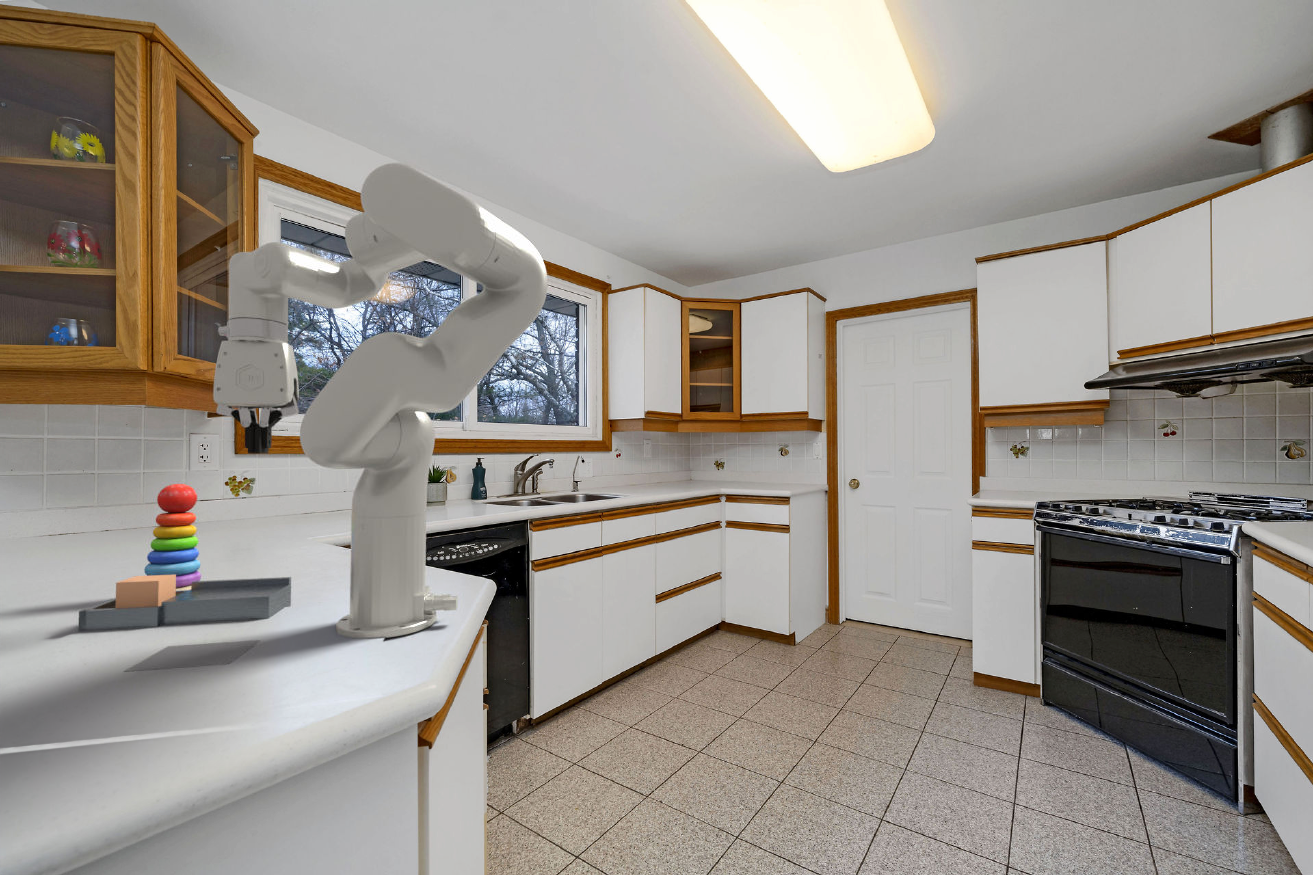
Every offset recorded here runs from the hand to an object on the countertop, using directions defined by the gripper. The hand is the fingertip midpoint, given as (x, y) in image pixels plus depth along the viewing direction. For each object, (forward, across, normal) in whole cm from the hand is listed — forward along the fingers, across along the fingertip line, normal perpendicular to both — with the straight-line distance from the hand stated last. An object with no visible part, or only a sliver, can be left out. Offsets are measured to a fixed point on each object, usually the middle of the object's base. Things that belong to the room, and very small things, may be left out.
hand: (258, 453), depth 86 cm
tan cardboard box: (+20, -10, -3) cm, 23 cm away
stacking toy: (+24, -17, +11) cm, 31 cm away
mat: (+24, +2, -21) cm, 32 cm away
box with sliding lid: (+24, -7, -3) cm, 25 cm away
